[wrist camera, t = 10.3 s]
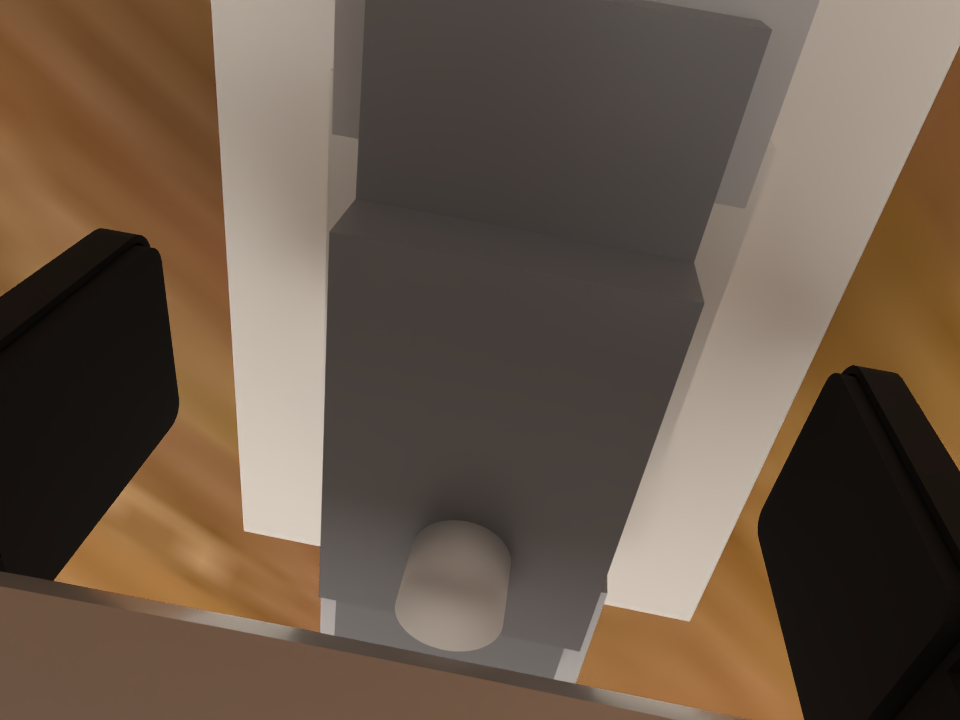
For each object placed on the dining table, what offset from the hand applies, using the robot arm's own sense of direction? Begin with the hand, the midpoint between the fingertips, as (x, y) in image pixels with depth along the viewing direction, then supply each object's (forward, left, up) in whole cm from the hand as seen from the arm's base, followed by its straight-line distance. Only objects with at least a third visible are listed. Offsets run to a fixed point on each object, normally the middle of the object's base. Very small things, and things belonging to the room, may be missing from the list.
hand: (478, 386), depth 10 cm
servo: (0, 0, -5) cm, 5 cm away
